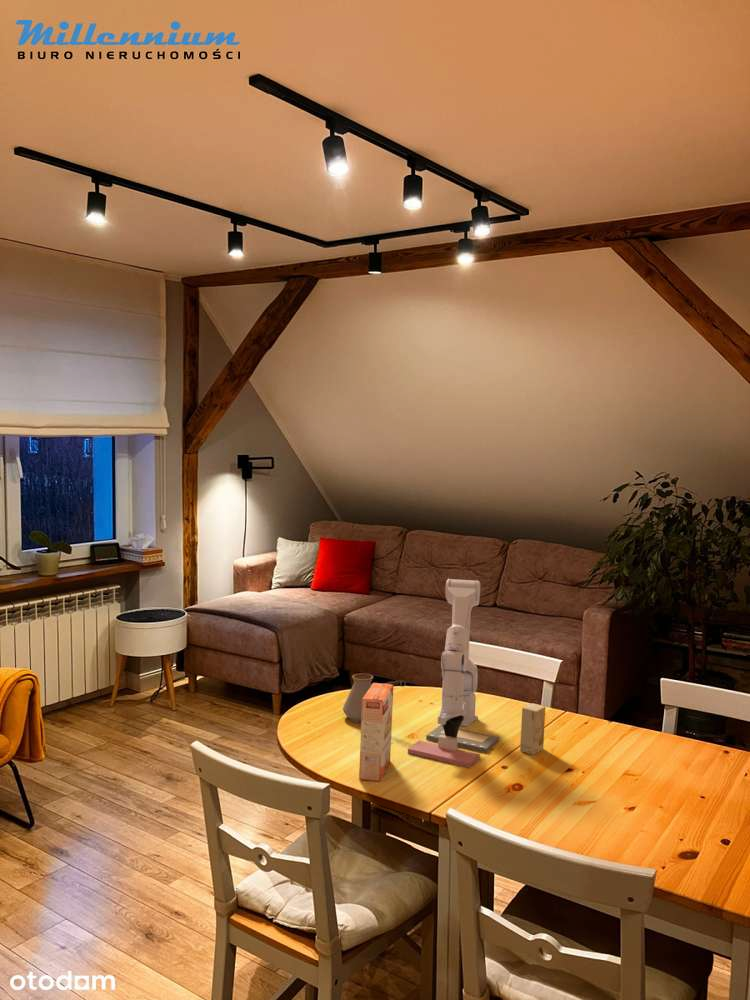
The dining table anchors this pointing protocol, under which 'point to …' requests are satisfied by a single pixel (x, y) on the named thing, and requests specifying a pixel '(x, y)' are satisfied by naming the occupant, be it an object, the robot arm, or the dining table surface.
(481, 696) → the dining table surface
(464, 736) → the ticket
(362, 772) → the cracker box
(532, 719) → the skincare box
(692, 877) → the dining table surface
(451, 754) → the pink board with handle
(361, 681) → the coffee pot
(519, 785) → the dining table surface
